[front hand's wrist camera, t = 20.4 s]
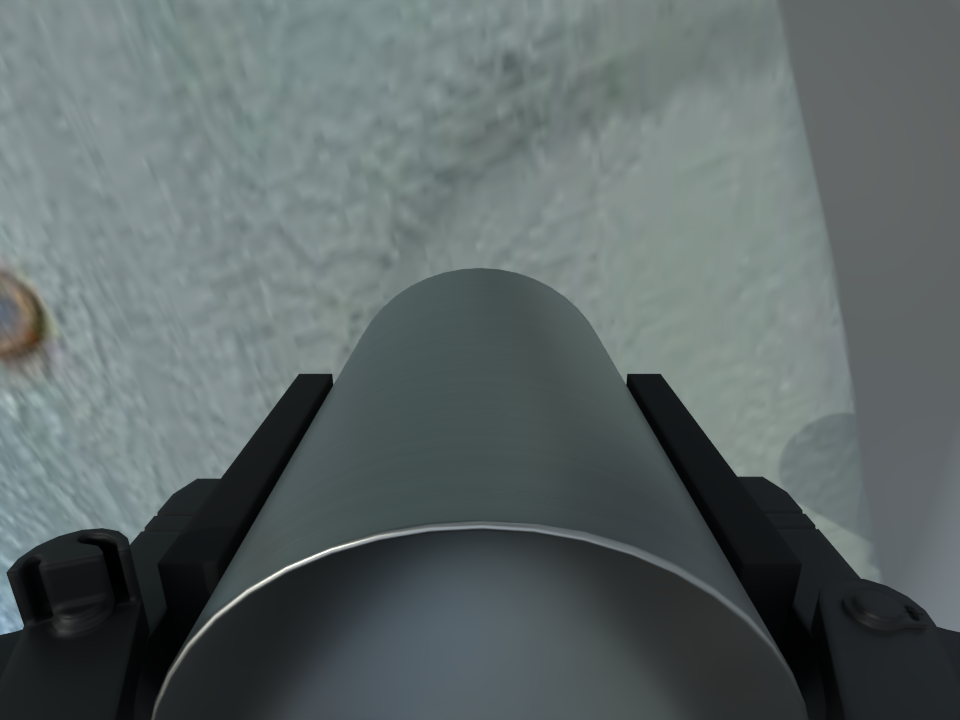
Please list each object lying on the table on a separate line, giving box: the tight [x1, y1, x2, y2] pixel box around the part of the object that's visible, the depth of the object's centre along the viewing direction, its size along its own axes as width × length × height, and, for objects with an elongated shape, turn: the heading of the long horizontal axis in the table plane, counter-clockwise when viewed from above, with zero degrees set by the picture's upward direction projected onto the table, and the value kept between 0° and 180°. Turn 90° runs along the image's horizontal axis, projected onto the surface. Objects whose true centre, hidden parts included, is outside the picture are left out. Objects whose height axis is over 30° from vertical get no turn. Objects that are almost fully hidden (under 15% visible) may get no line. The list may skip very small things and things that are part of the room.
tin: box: [151, 268, 808, 720], centre depth 11 cm, size 7×7×10 cm
